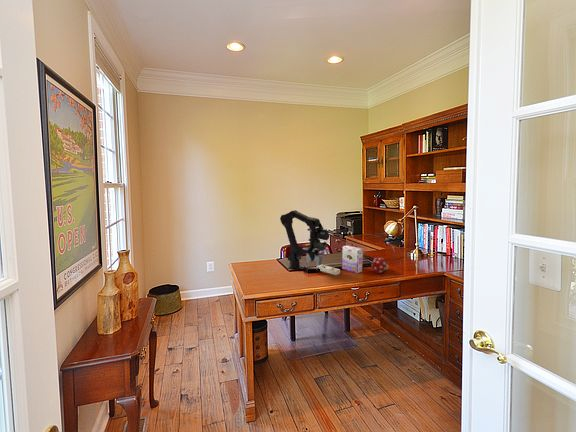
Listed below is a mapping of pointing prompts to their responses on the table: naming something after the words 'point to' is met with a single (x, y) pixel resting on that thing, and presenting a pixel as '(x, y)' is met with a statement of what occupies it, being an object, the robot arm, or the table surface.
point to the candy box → (352, 259)
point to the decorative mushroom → (379, 265)
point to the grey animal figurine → (316, 258)
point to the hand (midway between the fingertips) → (313, 260)
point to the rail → (329, 269)
